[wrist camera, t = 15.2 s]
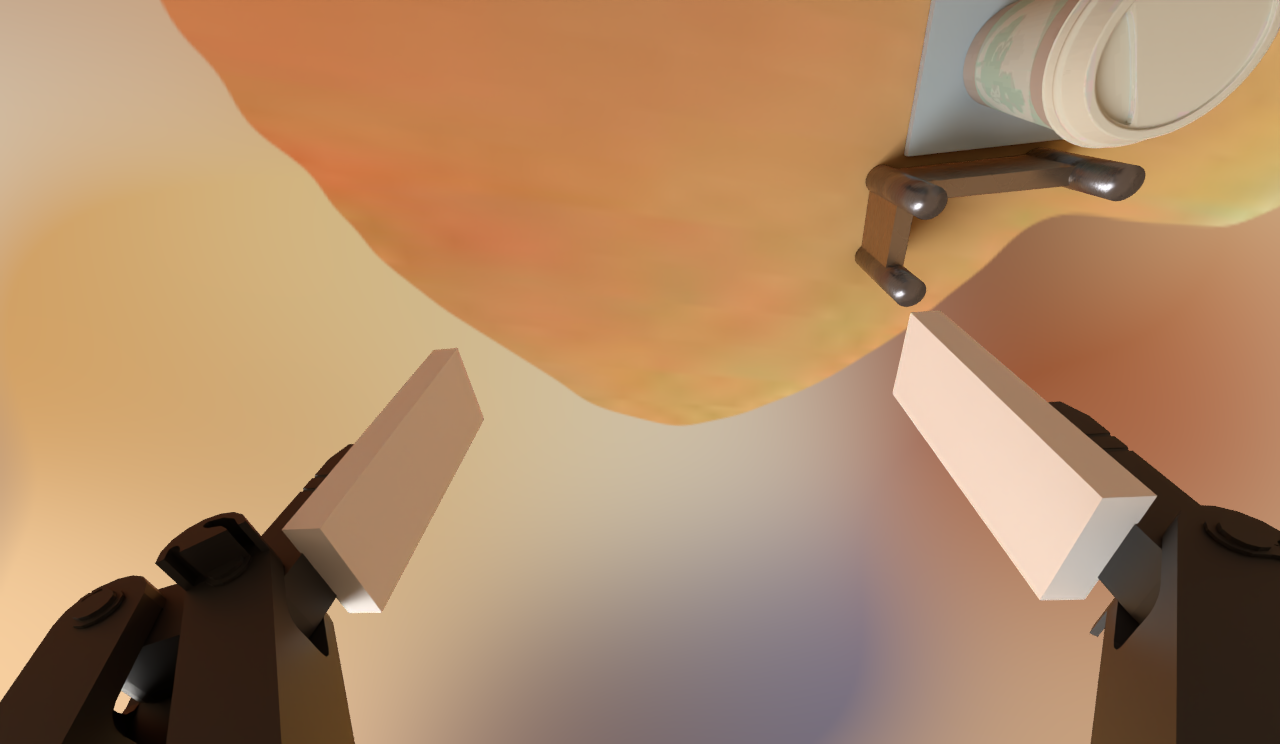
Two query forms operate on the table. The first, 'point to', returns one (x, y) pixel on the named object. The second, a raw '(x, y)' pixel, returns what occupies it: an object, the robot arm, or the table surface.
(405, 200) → the table surface
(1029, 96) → the coffee cup
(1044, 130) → the coaster
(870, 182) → the rail
